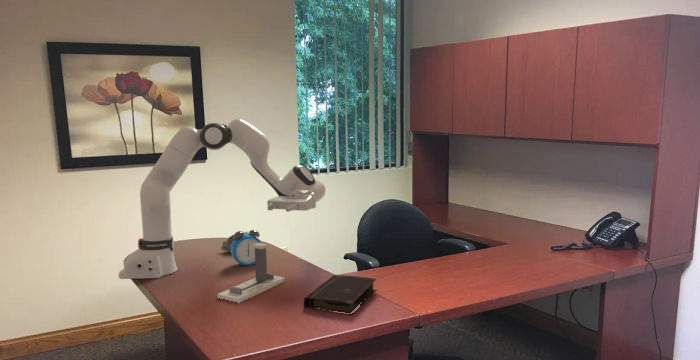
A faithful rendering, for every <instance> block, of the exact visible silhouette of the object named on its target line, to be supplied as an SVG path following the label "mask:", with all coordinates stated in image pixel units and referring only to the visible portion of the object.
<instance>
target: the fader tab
mask: <svg viewBox="0 0 700 360" xmlns="http://www.w3.org/2000/svg"><path fill="white" fill-rule="evenodd" d="M268 247H269V243H265V242H264V243H263V242H262V243H256V244H253V248H255V264H254V266H255V267H254V269H255V271H254V272H255V278H256V281H258V282H264V281H266V280H267V273H268V272H267V271H268V270H267V269H268V266H267V265H268V264H267V248H268Z"/></svg>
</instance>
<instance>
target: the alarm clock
mask: <svg viewBox="0 0 700 360" xmlns="http://www.w3.org/2000/svg"><path fill="white" fill-rule="evenodd" d="M242 231H243V230H239V231H236V232H235V233H234V234H233V235H234V236H233V239H234V240H233V242H232V244H231V252H230V254H231V257H232V258H233V259H234V260H235V261H236V263H238V264H239V265H240V267H242V266H244V267H245V266H247V267H248V266H253V265H255V248H253V244H256V243H263V242H262V241H261V240H260V239H259V237H260V235H261V234H260V232H259V231H258V230H257V229H251V230H249V231H245V232H244V231H243V232H244V233H245V234H244V233H243V232H242ZM249 233H250V234H249Z"/></svg>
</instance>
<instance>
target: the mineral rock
mask: <svg viewBox="0 0 700 360" xmlns="http://www.w3.org/2000/svg"><path fill="white" fill-rule="evenodd" d="M241 231H242V232H243V233H244V234H245V232H244V231H243V230H241ZM248 233H249V232H248ZM249 234H250V233H249ZM233 236H234V234H232V235H231V236H229V237H228V239H227V240H225V241H223V242H222V246H221V247H220V249H221V250H222V251H223V252H229V253H231V244H232V242H233V240H234V239H233Z"/></svg>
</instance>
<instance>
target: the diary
mask: <svg viewBox="0 0 700 360" xmlns="http://www.w3.org/2000/svg"><path fill="white" fill-rule="evenodd" d="M376 280H377V278H374V277H366V276H359V275H358V276H357V275H356V276H355V275H341V274H339V275H338V274H333V275H332V276H331V277H330V278H328V279H327V280H326V281H324V282H323V283H322V284H320V285H318V287H316V288H315V289H314V290H313V291H311V292H310V293H309V294H307V295H306V296H304V297H303V307H304V309H307V308H308V307H310V308H311V307H312V308H313V309H314V308H320V309H319V310H321V309H326V310H325V311H327V310H331V311H338V312H345V313H351V312H352V311H353V310H354V309H355V308H356V307H357V306H358V305H359V304H360V303H361V302H362V303H361V304H360V306H361V305H362V304H363V303H364V304H365V303H366V302H367V301H368V300H367V299H368V298H369V297H370V296H373V294H374V293H375V292H376V291H377V289H374V283H375V281H376ZM365 299H366V300H367V301H366V300H365ZM365 301H366V302H365ZM364 304H363V305H364ZM308 305H309V306H308ZM363 305H362V306H363ZM307 306H308V307H307ZM362 306H361V307H362ZM306 307H307V308H306ZM352 315H354V314H353V313H352Z"/></svg>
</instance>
